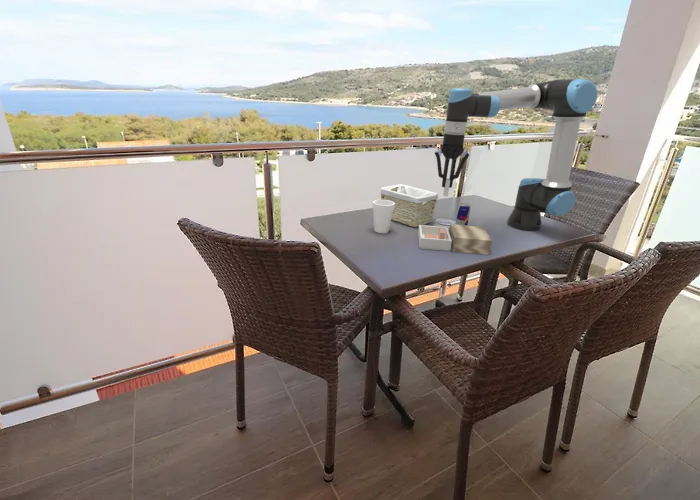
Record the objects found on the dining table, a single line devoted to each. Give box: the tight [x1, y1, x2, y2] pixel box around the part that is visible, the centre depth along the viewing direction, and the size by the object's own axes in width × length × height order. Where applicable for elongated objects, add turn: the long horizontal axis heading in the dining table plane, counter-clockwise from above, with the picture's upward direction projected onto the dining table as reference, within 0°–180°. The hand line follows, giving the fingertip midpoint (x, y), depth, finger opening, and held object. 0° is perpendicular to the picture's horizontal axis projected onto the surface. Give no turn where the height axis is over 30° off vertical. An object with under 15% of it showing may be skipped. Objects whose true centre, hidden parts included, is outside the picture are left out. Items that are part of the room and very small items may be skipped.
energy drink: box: [455, 202, 472, 226], centre depth 169 cm, size 5×5×12 cm
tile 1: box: [425, 234, 438, 239], centre depth 155 cm, size 5×5×2 cm
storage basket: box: [379, 183, 439, 228], centre depth 180 cm, size 24×16×15 cm
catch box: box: [417, 224, 452, 252], centre depth 154 cm, size 12×16×4 cm
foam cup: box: [372, 199, 395, 234], centre depth 163 cm, size 10×9×13 cm
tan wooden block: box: [448, 223, 493, 256], centre depth 153 cm, size 14×16×6 cm
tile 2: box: [438, 229, 445, 239], centre depth 154 cm, size 5×5×2 cm
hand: (445, 195), depth 147 cm, fingers closed
